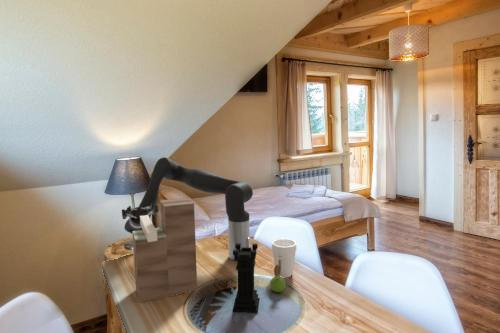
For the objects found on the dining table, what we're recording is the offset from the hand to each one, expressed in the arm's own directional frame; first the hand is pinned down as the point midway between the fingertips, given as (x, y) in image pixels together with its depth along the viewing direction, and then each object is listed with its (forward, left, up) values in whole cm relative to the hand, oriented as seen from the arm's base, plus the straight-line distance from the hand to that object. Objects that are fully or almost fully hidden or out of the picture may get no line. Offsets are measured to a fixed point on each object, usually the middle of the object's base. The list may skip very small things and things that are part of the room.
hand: (141, 207), depth 139 cm
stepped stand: (-15, +15, -27) cm, 34 cm away
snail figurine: (-55, +12, -27) cm, 62 cm away
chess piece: (-45, +23, -27) cm, 57 cm away
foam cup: (-57, -1, -27) cm, 63 cm away
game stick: (-9, +16, -5) cm, 19 cm away
